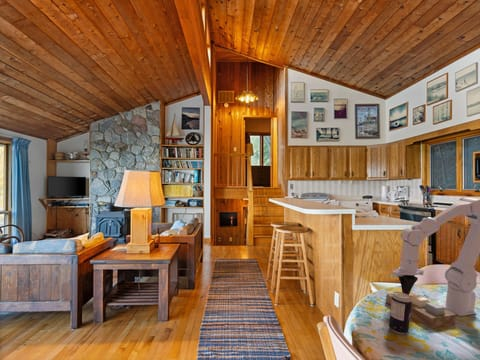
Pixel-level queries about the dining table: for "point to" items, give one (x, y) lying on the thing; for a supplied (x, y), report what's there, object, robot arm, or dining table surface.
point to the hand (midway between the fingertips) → (405, 293)
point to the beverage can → (400, 312)
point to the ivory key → (419, 300)
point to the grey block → (435, 308)
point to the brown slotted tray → (428, 315)
